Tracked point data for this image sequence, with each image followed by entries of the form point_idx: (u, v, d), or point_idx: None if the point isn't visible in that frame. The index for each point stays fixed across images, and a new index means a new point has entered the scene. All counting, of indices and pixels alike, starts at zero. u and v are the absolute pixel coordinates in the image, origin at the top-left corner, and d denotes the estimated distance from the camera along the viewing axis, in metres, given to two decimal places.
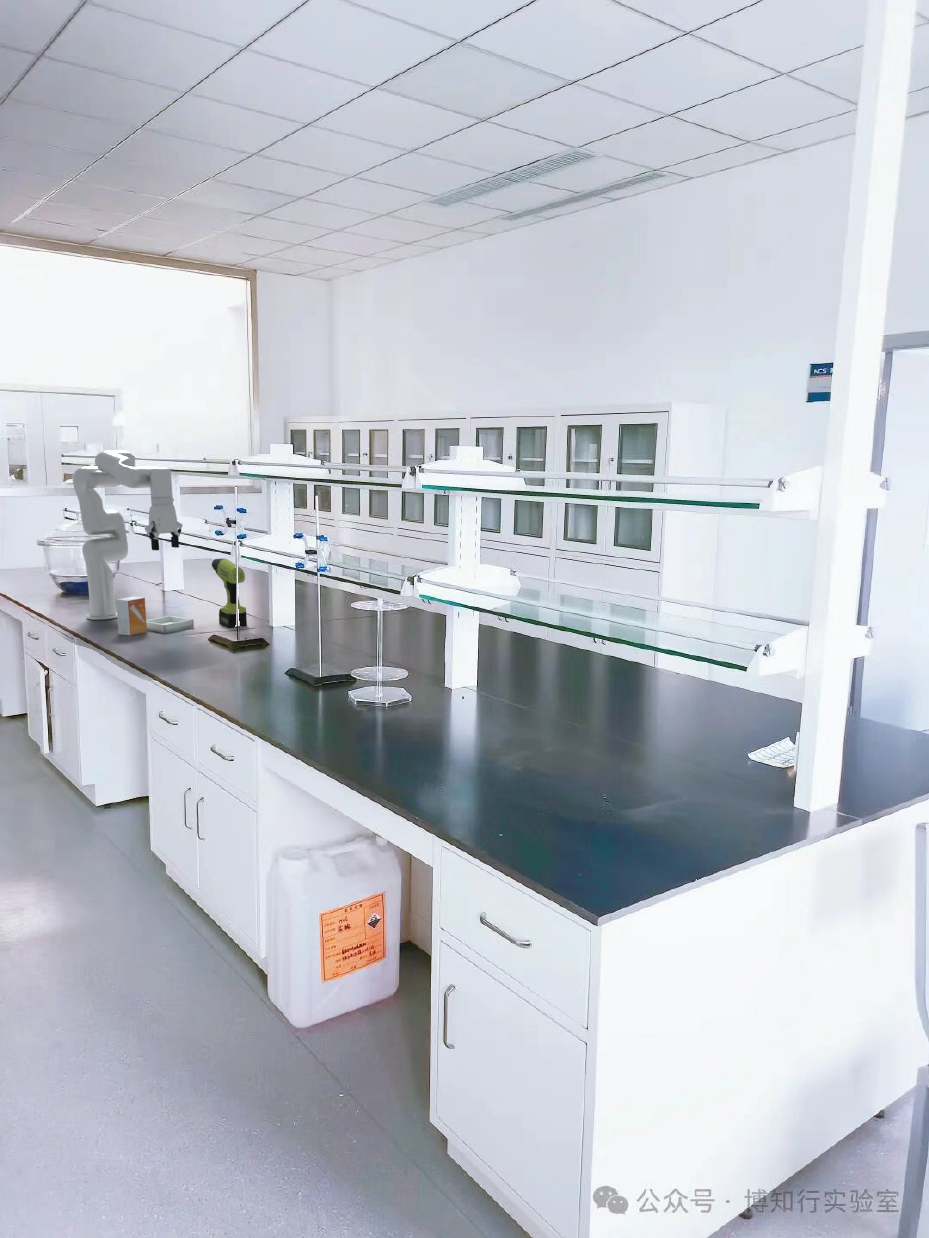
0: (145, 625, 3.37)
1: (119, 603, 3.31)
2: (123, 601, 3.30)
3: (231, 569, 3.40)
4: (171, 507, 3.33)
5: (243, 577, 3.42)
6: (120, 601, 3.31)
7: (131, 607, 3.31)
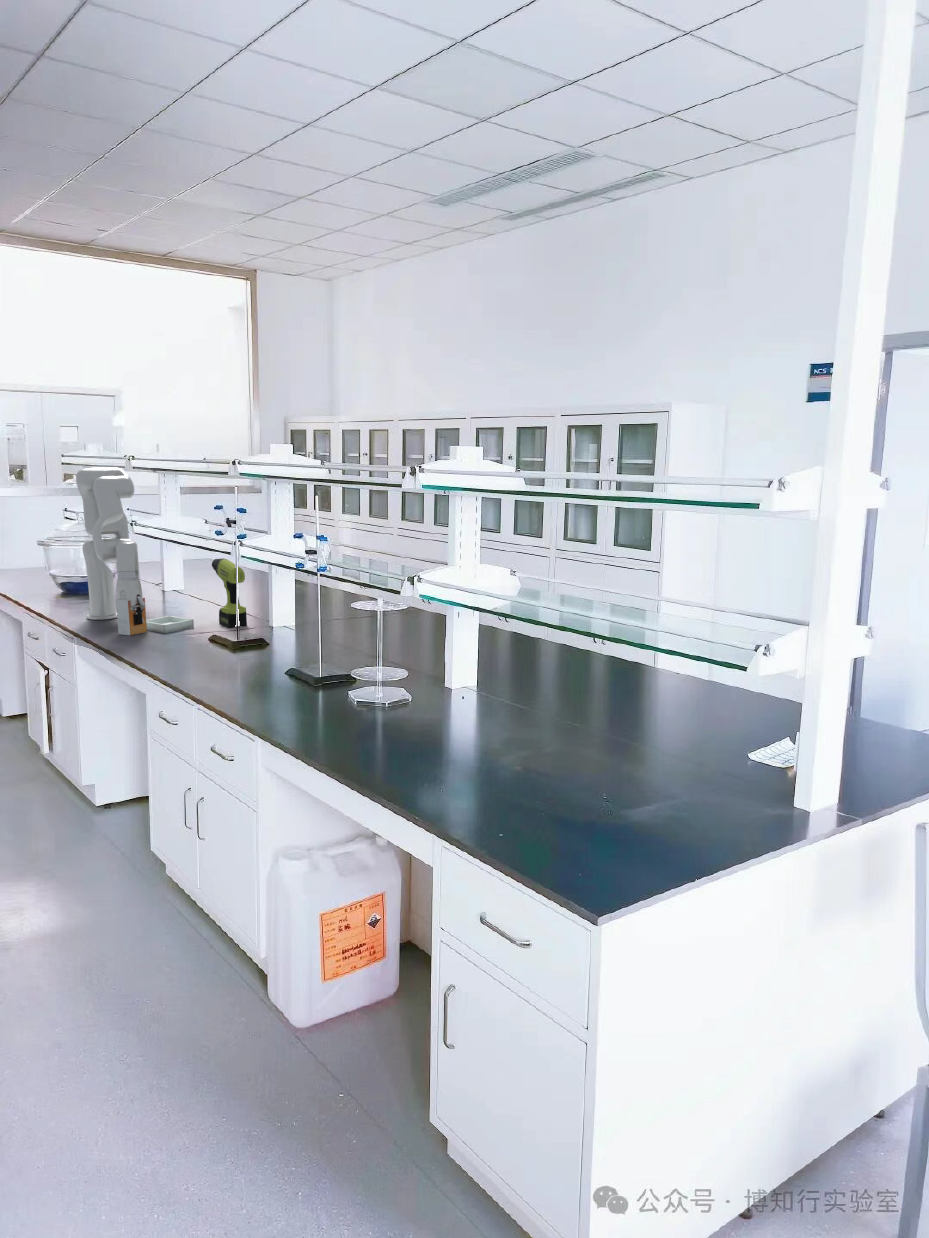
0: (145, 625, 3.37)
1: (119, 603, 3.31)
2: (123, 601, 3.30)
3: (231, 569, 3.40)
4: None
5: (243, 577, 3.42)
6: (120, 601, 3.31)
7: (131, 607, 3.30)
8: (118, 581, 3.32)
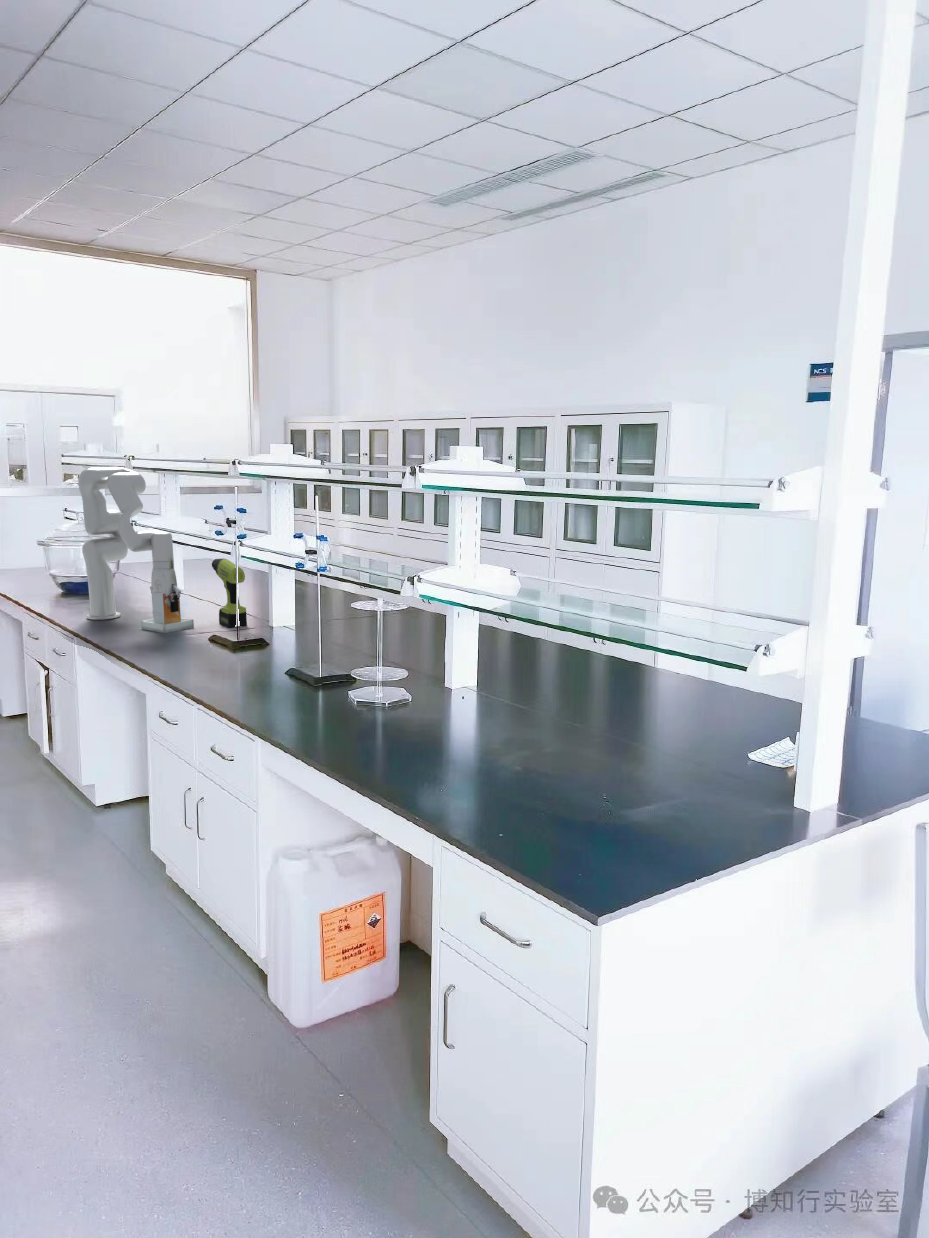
0: (179, 618, 3.45)
1: (154, 596, 3.40)
2: (158, 594, 3.39)
3: (231, 569, 3.40)
4: None
5: (243, 577, 3.42)
6: (155, 594, 3.39)
7: (165, 600, 3.39)
8: (153, 571, 3.40)
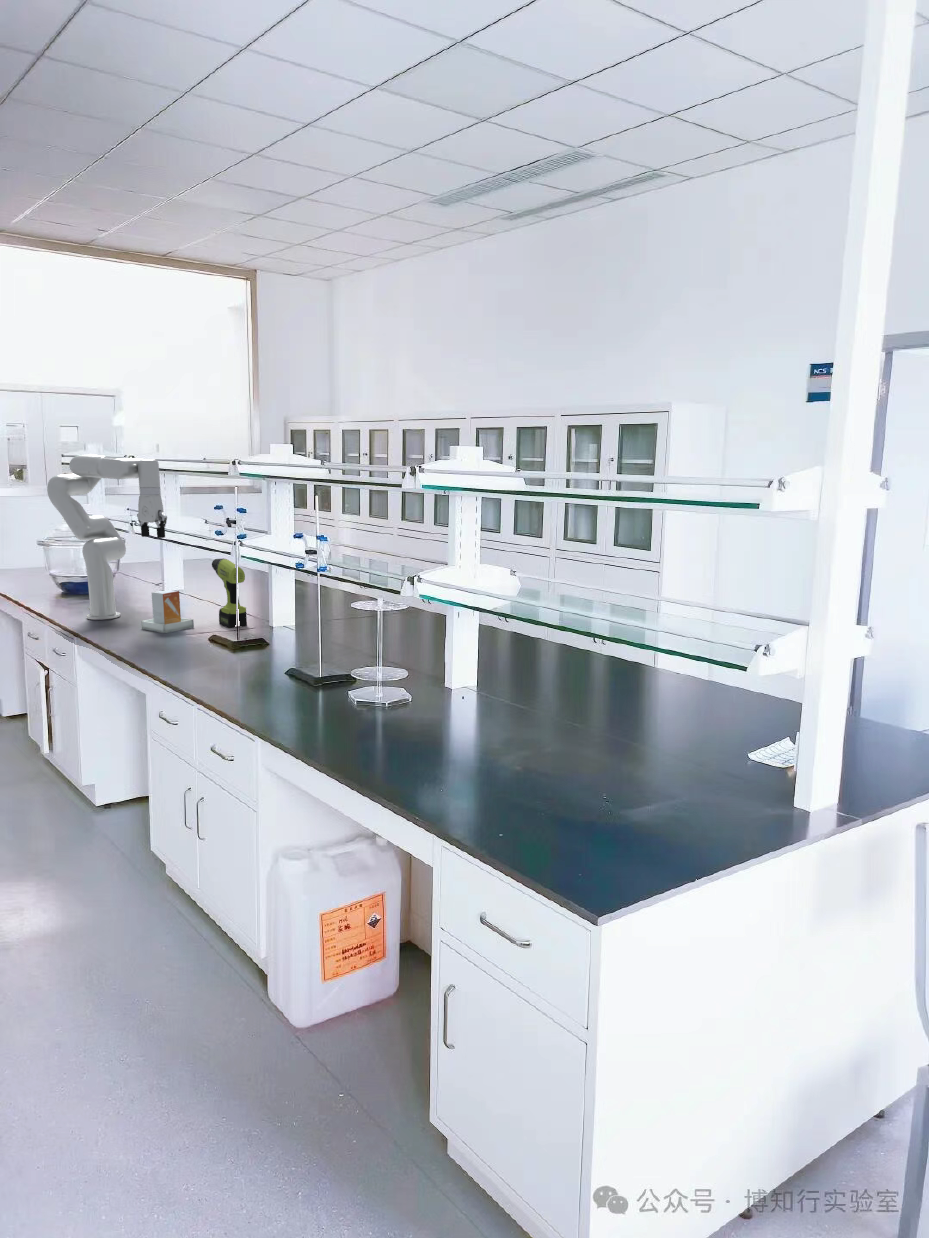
0: (179, 618, 3.45)
1: (154, 596, 3.40)
2: (158, 594, 3.39)
3: (231, 569, 3.40)
4: None
5: (243, 577, 3.42)
6: (155, 594, 3.39)
7: (165, 600, 3.39)
8: (140, 498, 3.46)
